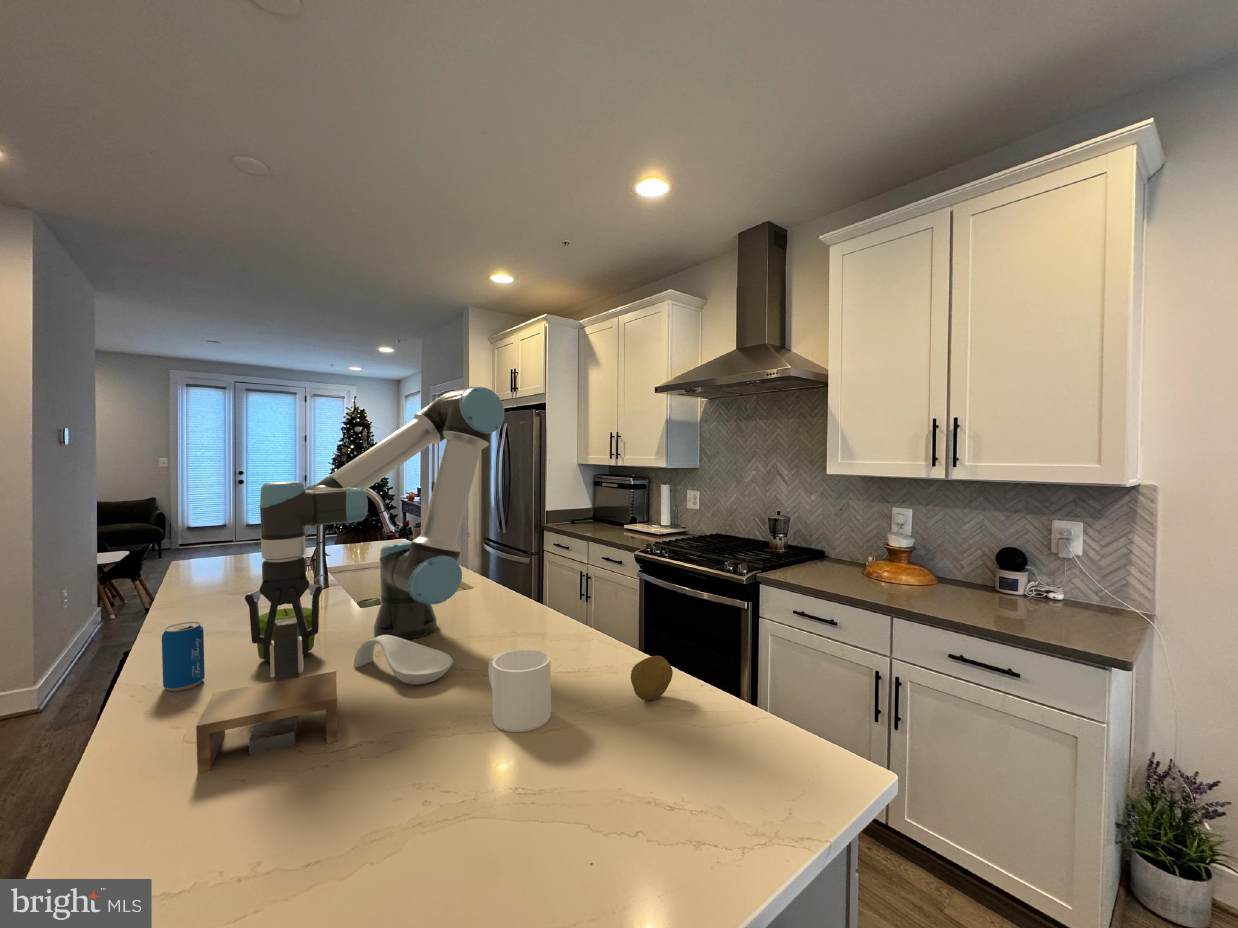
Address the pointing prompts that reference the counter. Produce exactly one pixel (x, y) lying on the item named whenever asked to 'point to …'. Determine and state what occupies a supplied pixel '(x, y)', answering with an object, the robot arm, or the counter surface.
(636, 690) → the potato
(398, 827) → the counter surface
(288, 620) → the grey metal prism
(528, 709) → the mug
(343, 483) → the robot arm
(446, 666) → the spoon rest
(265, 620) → the apple
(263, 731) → the block
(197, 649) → the beverage can
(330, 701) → the walnut shelf
